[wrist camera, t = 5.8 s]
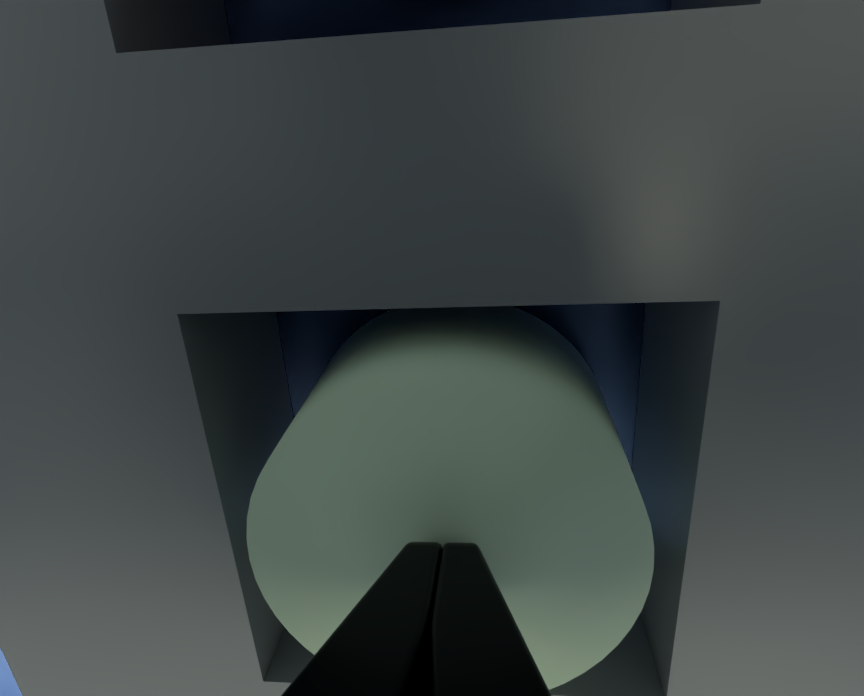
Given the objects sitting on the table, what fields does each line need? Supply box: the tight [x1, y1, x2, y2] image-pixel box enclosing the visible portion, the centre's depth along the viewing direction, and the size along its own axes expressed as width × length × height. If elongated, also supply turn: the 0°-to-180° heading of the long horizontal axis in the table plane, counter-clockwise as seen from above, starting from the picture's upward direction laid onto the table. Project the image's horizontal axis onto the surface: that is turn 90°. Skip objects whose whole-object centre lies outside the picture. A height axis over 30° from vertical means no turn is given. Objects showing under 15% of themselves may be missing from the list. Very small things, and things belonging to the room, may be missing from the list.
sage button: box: [246, 306, 654, 690], centre depth 9 cm, size 5×5×3 cm
